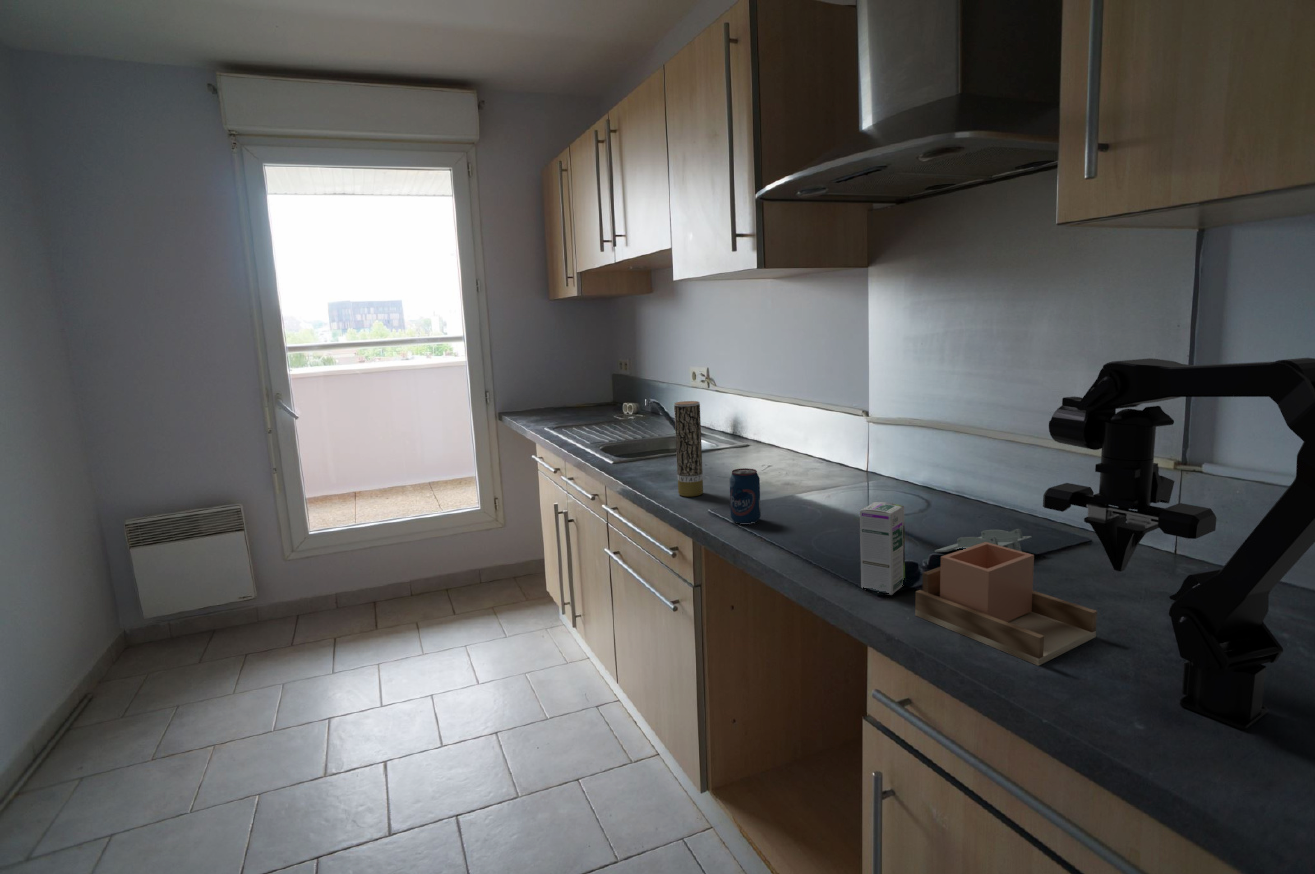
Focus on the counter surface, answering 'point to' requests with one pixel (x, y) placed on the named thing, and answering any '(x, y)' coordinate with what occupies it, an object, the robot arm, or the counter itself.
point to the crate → (989, 580)
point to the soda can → (745, 495)
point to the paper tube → (688, 448)
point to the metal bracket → (990, 540)
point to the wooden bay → (1012, 623)
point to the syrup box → (882, 546)
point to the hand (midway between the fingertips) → (1119, 570)
